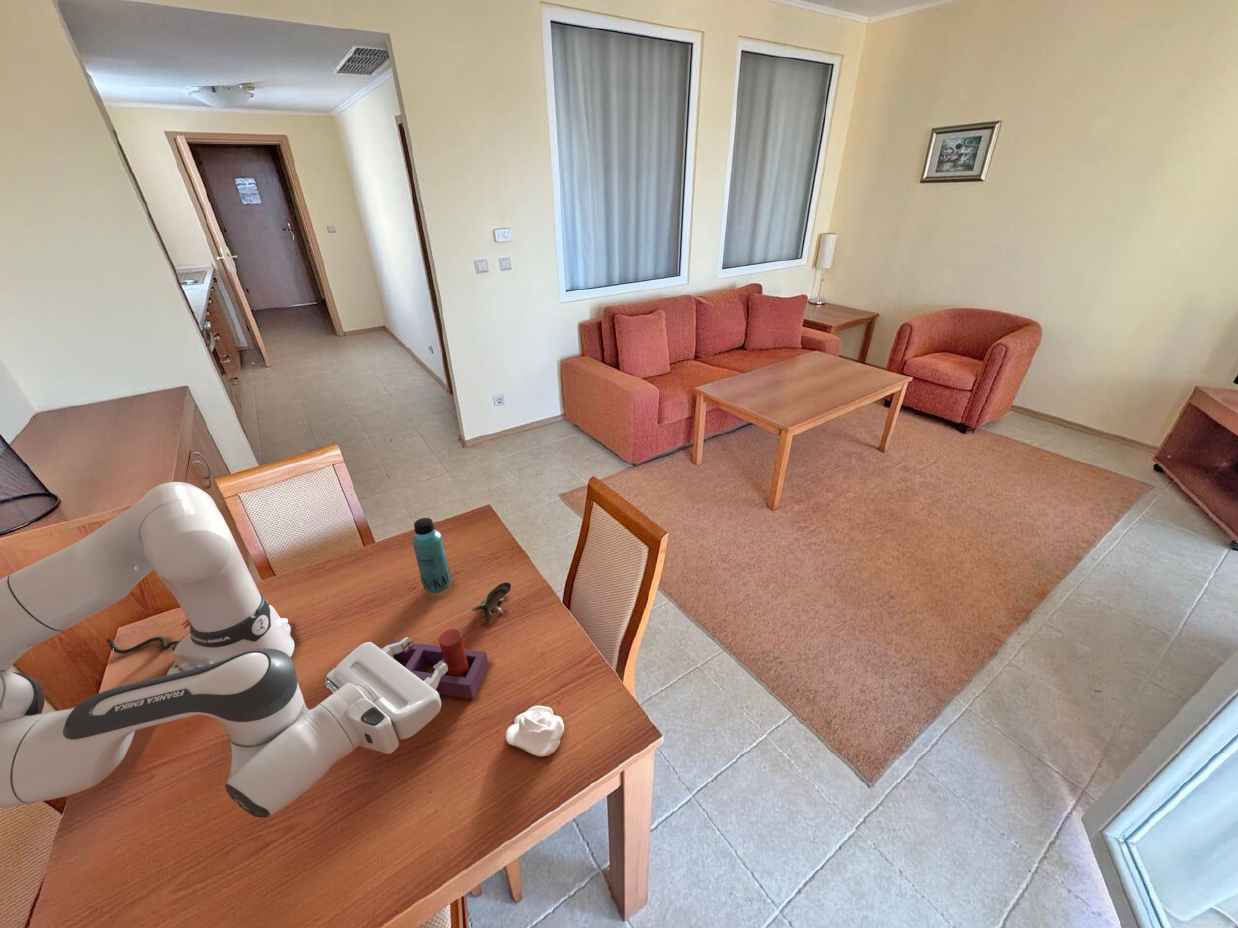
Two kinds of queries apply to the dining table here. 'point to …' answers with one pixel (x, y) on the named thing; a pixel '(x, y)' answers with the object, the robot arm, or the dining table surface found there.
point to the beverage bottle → (430, 556)
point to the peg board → (447, 684)
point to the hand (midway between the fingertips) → (427, 652)
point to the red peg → (454, 653)
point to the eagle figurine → (493, 601)
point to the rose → (536, 731)
